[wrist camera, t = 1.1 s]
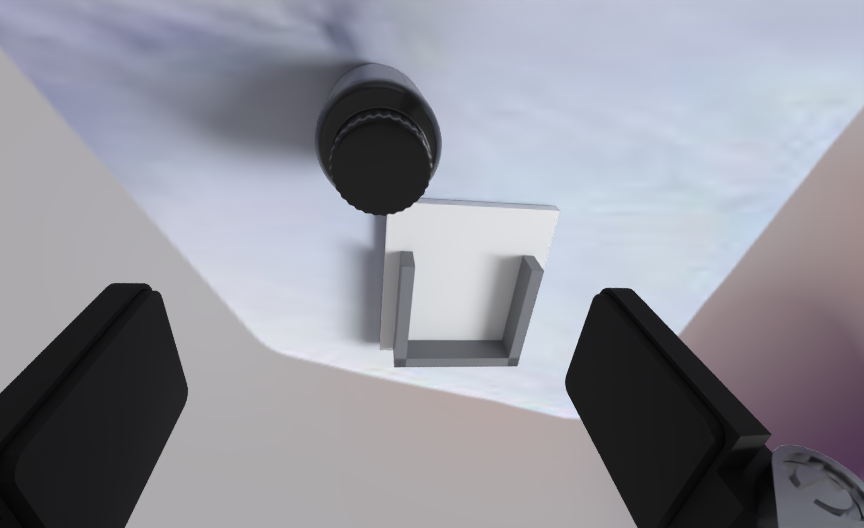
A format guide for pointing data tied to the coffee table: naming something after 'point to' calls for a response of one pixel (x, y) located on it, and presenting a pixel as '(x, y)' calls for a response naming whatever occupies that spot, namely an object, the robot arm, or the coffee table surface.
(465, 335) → the cradle tray
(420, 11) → the coffee table surface
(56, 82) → the coffee table surface
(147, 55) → the coffee table surface
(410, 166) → the supplement bottle
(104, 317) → the robot arm
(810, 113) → the coffee table surface
